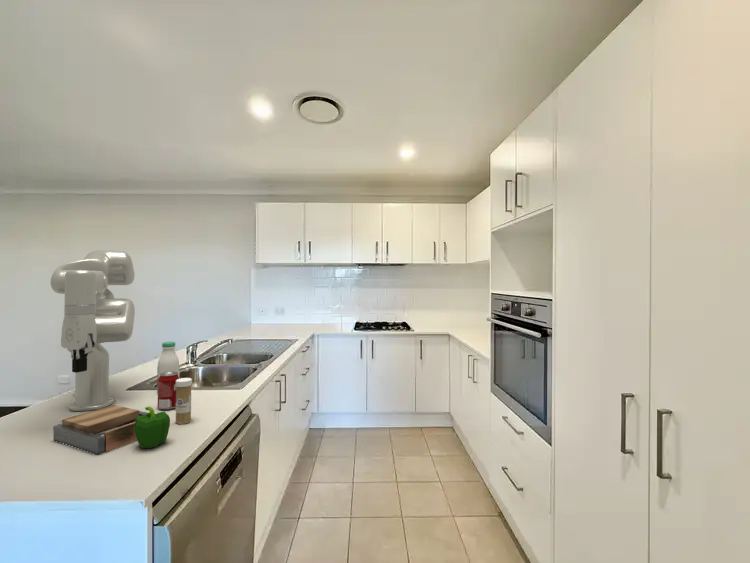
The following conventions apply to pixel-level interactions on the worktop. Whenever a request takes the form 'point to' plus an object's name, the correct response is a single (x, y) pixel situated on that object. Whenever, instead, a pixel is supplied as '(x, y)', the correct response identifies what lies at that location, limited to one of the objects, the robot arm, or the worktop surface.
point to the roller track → (96, 437)
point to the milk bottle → (167, 360)
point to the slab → (101, 418)
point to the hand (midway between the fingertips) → (79, 371)
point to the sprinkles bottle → (183, 400)
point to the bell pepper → (151, 428)
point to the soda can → (167, 390)
